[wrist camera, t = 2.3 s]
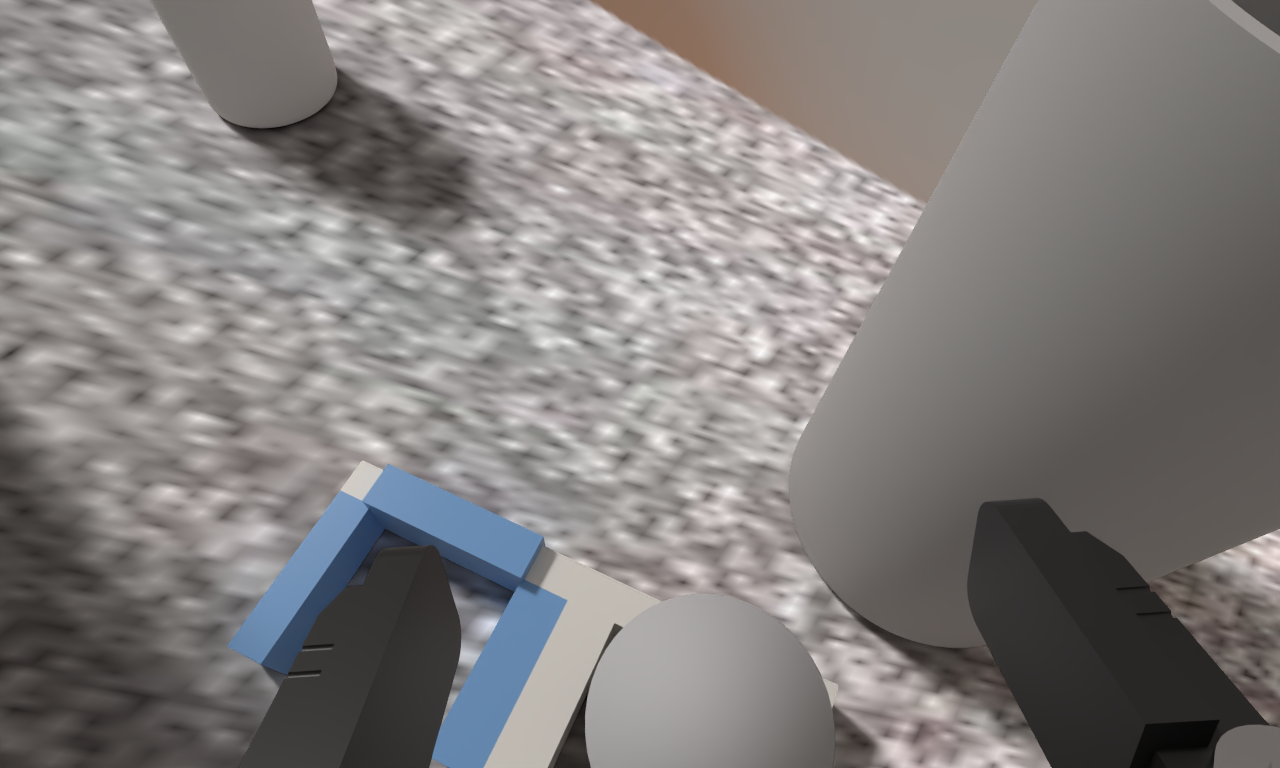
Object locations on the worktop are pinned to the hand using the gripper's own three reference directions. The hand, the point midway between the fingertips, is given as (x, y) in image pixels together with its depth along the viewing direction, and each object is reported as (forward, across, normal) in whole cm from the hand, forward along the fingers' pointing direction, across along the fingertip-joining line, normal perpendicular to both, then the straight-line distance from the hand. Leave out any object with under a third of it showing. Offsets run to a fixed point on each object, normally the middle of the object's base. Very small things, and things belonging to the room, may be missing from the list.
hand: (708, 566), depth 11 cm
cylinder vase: (+18, +10, -14) cm, 25 cm away
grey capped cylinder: (+9, -2, -18) cm, 20 cm away
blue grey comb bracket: (+11, -7, -16) cm, 20 cm away
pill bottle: (+41, -24, +4) cm, 47 cm away
